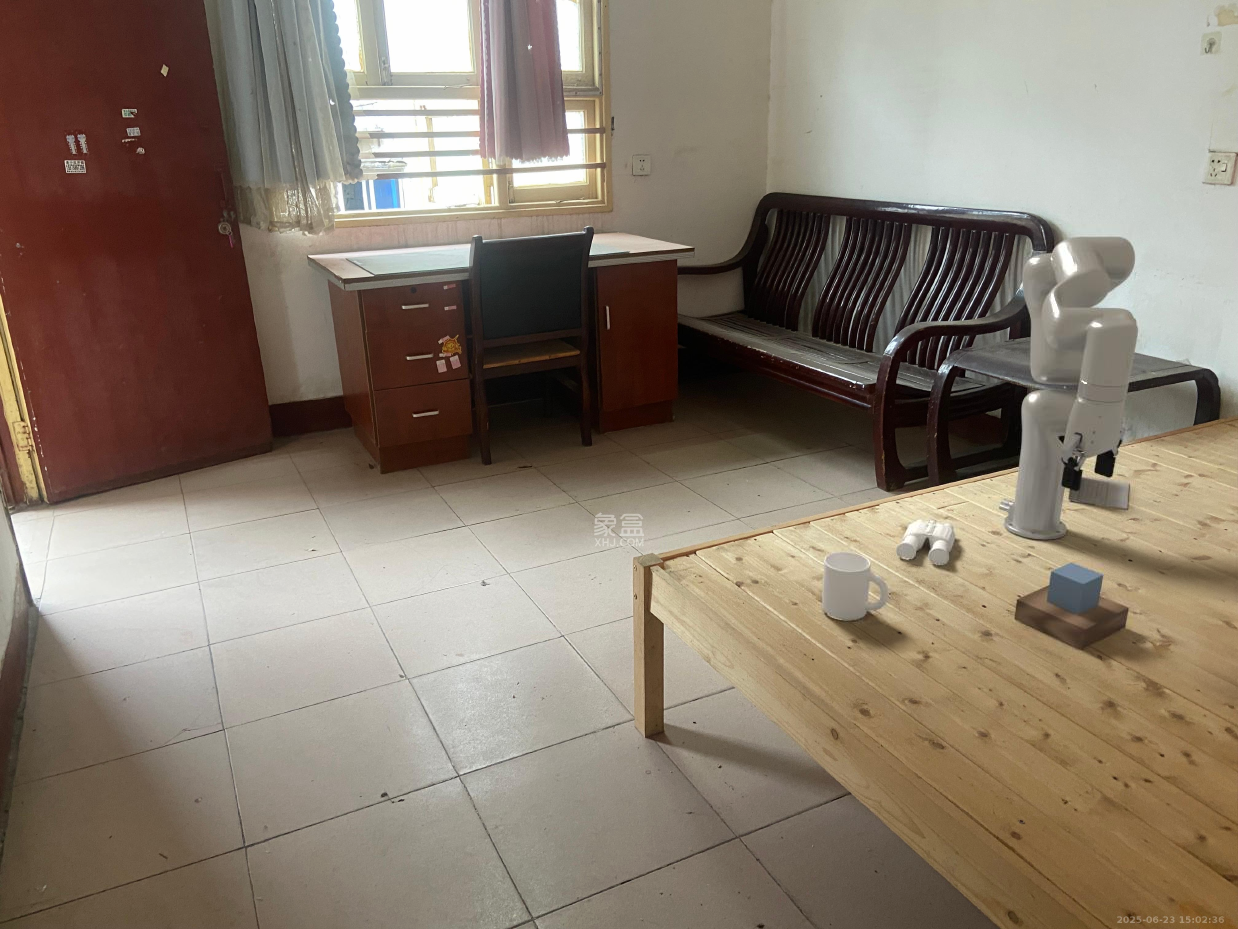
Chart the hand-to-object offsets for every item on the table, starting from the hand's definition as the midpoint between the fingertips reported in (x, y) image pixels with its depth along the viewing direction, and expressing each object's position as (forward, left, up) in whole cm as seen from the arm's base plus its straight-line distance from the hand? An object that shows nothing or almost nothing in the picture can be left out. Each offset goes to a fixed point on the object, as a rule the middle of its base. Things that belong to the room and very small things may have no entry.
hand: (1086, 481), depth 162 cm
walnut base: (+5, -8, -24) cm, 26 cm away
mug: (-19, -36, -24) cm, 48 cm away
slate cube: (+5, -8, -20) cm, 22 cm away
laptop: (-27, +55, -25) cm, 66 cm away
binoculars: (-30, -3, -24) cm, 39 cm away
